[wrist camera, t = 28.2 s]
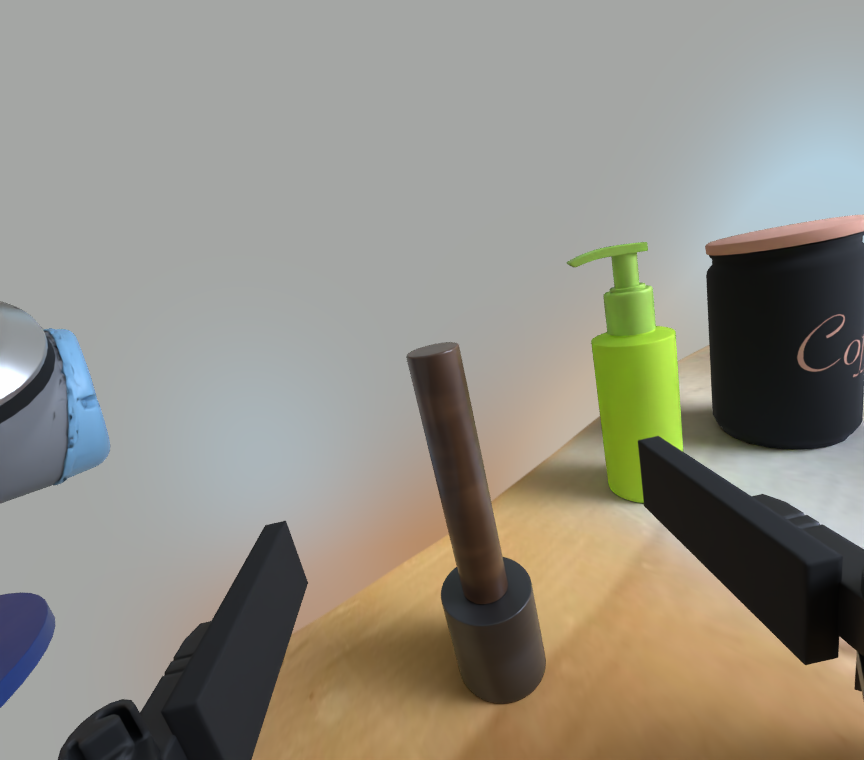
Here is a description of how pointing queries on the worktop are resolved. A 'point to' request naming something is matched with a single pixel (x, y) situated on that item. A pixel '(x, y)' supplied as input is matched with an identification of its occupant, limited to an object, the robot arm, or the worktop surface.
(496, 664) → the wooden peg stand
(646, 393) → the soap dispenser
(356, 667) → the worktop surface
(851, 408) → the coffee jar
